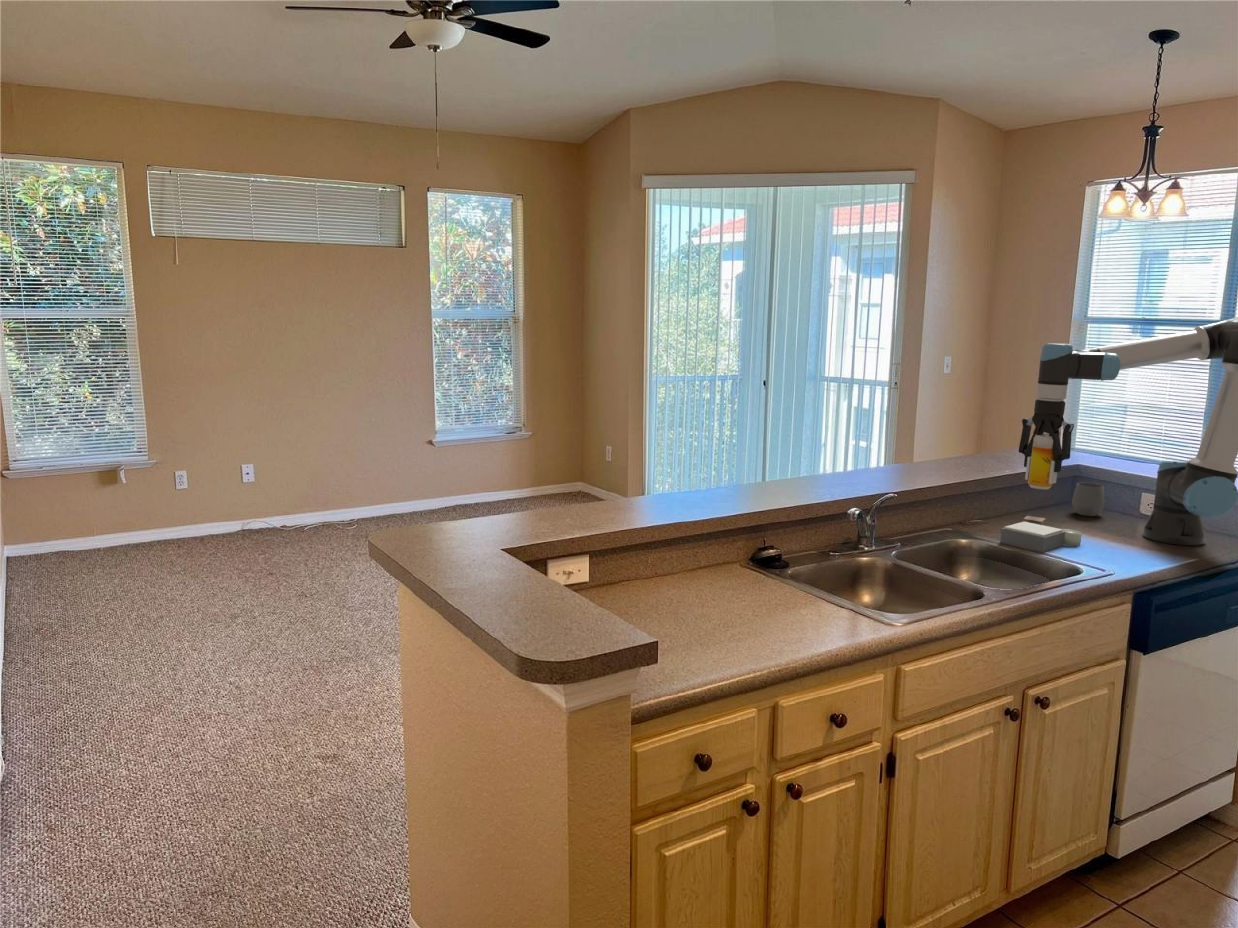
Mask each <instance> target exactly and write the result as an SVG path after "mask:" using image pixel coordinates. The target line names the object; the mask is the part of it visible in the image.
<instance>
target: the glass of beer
mask: <svg viewBox="0 0 1238 928" xmlns="http://www.w3.org/2000/svg"><path fill="white" fill-rule="evenodd" d="M1052 447H1053V439H1052V437H1050V436H1049V433H1043V434H1042V435H1035V437H1034V439H1033V447H1032V455H1031V464H1030V472H1029V480H1027V484H1028V485H1029V487H1030V488H1032V489H1036V490H1050V488H1051V487H1053V484H1048V483H1049V475H1050V467H1051V461H1052V460H1053V459H1054V454H1053V448H1052Z"/></svg>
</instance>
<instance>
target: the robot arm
mask: <svg viewBox="0 0 1238 928" xmlns="http://www.w3.org/2000/svg"><path fill="white" fill-rule="evenodd" d="M1073 347H1074V346H1073V345H1072V344H1070V343H1055V342H1054V343H1050V342H1049V343H1045V344H1044V345H1043V346H1042V349H1041V353H1040V359H1039V368H1038V379H1037V385H1036V393H1035V397H1036V398H1037V399H1036V400H1035V401H1034V402H1035V403H1034V408H1033V409H1034V414H1033V416H1032V417H1031V418H1030V417H1029V418H1022V420H1021V423H1022V430H1021V434H1020V435H1021V436H1020V440H1019V444H1018V446H1019V447H1018V453H1019V454H1022V455H1024V461H1023V467H1024V468H1025V477H1024V480H1027V481H1028V480H1029V472H1030V464H1031V455H1032V447H1033V439H1034V437H1035V435H1042V434H1049V436H1050V437H1052V439H1053V447H1052V448H1053V454H1054V459H1053V460H1052V461H1051V467H1050V475H1049V483H1048V484H1052V485H1054V484H1057V479H1058V473H1060V472H1061V471H1062V465H1063V464H1062V463H1063V461H1066V460H1070V458H1071V446H1072V432H1073V430H1074V429H1075V428H1074V427H1075V424H1073V423H1069V422H1066V421H1065V419H1064V414H1065V412H1066V411H1065V410H1066V402H1065V401H1064V400H1066V399H1067V393H1068V387H1069V386H1068V385H1069V380H1086V381H1087V380H1088V381H1090V380H1091V381H1101V382H1103V381H1113V380H1115V379H1116V378H1117V377H1118V376H1119V374H1120V371H1121V370H1128V369H1129V370H1130V369H1133V368H1134V369H1135V368H1140V367H1147V366H1153V365H1161V364H1167V363H1172V362H1177V361H1184V360H1190V359H1191V360H1192V359H1196V358H1197V359H1198V360H1200V361H1206V360H1215V359H1217V360H1219V359H1221V360H1222V361H1221V365H1222V367H1223V368H1224V369H1225V373H1224V376H1223V379H1222V382H1221V384H1220V388H1219V391H1218V393H1217V396H1216V399H1215V401H1214V404H1213V408H1212V411H1211V414H1210V416H1209V418H1208V421H1207V424H1206V428H1205V431H1204V434H1203V437H1202V438H1201V442H1200V446H1199V448H1198V451H1197V454H1196V456H1195V457H1193V458H1191V459H1189V460H1188V461H1181V460H1180V461H1179V460H1178V461H1175V460H1163V461H1160V463H1159V465H1158V469H1157V472H1156V473H1157V477H1156V484H1155V493H1154V500H1153V508H1152V511H1151V514H1150V515H1149V517H1148V519H1147V521H1146V523H1145V525H1144V527H1143V529H1142V530H1143V531H1142V536H1143V537H1145V538H1147V539H1148V540H1153V541H1156V542H1160V543H1166V544H1169V545H1170V544H1171V545H1177V546H1178V545H1179V546H1201V545H1204V544H1205V539H1206V533H1205V528H1204V525H1203V521H1202V518H1217V517H1222V516H1223V515H1225V514H1228V513H1229V512H1230V511H1232V510H1233V509H1234V507H1235V506H1236V505H1237V504H1238V503H1237V502H1238V488H1237V486H1236V485H1235V483H1236V480H1237V479H1238V478H1237V477H1238V470H1237V469H1236V467H1235V462H1236V460H1237V457H1238V317H1237V316H1236V317H1234V318H1233V317H1232V318H1229V319H1228V318H1227V319H1225V320H1222V321H1218V322H1213V323H1208V324H1204V325H1198V326H1196V327H1194V329H1192V330H1190V331H1184V332H1179V333H1174V334H1167V335H1161V336H1155V337H1150V338H1144V339H1138V340H1133V341H1128V342H1127V341H1126V342H1120V343H1119V342H1118V343H1115V344H1109V345H1103V346H1097V347H1091V348H1085V349H1073ZM1033 425H1034V429H1033V431H1032V426H1033ZM1061 427H1062V441H1061V438H1060V434H1061V433H1060V428H1061ZM1031 431H1032V435H1031ZM1030 436H1031V438H1030Z"/></svg>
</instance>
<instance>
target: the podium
mask: <svg viewBox="0 0 1238 928" xmlns="http://www.w3.org/2000/svg"><path fill="white" fill-rule="evenodd" d="M1063 529H1064V528H1057V527H1053V526H1049V525H1045V526H1044V525H1039V524H1034V523H1029V522H1023V521H1022V522H1017V523H1014V524H1010V525H1006V526H1004V527H1003V528H1002V527H1001V532H1000V539H999V540H1000V543H1002V544H1006V545H1011V546H1014V547H1019V548H1023V549H1027V550H1032V551H1036V552H1040V553H1044V552H1047V551H1051V550H1053V549H1054V550H1055V549H1058V548H1061V547H1063V546H1065V545H1064V538H1065V532H1064V531H1063Z"/></svg>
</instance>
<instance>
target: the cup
mask: <svg viewBox="0 0 1238 928" xmlns="http://www.w3.org/2000/svg"><path fill="white" fill-rule="evenodd" d="M1071 504H1072V507H1073V509H1074V511H1075V513H1076V514H1078V515H1079V516H1083V517H1084V516H1085V517H1098V515H1100V513H1101V512H1102V511H1103V509H1104V507H1105V489H1104V485H1102V484H1100V483H1096V482H1087V481H1086V482H1085V481H1084V482H1083V481H1082V482H1077V483H1076V486H1075V489H1074V492H1073V496H1072V499H1071Z"/></svg>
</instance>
